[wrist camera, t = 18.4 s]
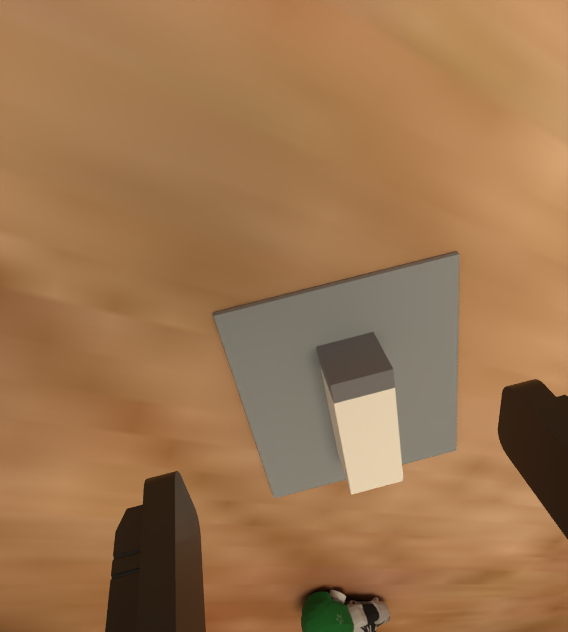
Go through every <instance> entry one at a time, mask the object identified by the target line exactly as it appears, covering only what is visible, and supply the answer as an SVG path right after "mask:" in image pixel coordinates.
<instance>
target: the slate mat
mask: <svg viewBox="0 0 568 632" xmlns="http://www.w3.org/2000/svg"><path fill="white" fill-rule="evenodd" d="M458 306H459V253H458V252H457V251H456V252H452V253H448V254H444V255H440V256H436V257H432V258H428V259H424V260H420V261H416V262H412V263H408V264H404V265H400V266H396V267H392V268H388V269H384V270H380V271H376V272H372V273H368V274H364V275H361V276H357V277H353V278H349V279H345V280H341V281H337V282H333V283H329V284H325V285H321V286H317V287H313V288H309V289H305V290H301V291H297V292H293V293H289V294H285V295H281V296H277V297H273V298H269V299H265V300H261V301H257V302H253V303H249V304H245V305H241V306H237V307H234V308H230V309H226V310H222V311H218V312H214V313H213V316H214V319H215V322H216V325H217V328H218V331H219V334H220V337H221V340H222V343H223V346H224V349H225V352H226V355H227V358H228V361H229V364H230V367H231V370H232V373H233V376H234V379H235V382H236V385H237V388H238V391H239V394H240V397H241V400H242V403H243V406H244V409H245V412H246V415H247V418H248V421H249V424H250V427H251V430H252V433H253V436H254V439H255V442H256V445H257V448H258V451H259V454H260V457H261V460H262V463H263V466H264V469H265V472H266V475H267V478H268V481H269V484H270V487H271V490H272V493H273V496H274V498H277V497H281V496H285V495H289V494H293V493H296V492H300V491H304V490H308V489H312V488H315V487H319V486H323V485H327V484H331V483H334V482H338V481H342V480H346V477H345V473H344V470H343V467H342V464H341V461H340V458H339V455H338V451H337V446H336V441H335V436H334V431H333V426H332V421H331V416H330V411H329V406H328V402H327V397H326V392H325V387H324V382H323V377H322V372H321V367H320V362H319V357H318V352H317V347H316V346H320V345H324V344H328V343H332V342H336V341H339V340H343V339H347V338H351V337H355V336H359V335H363V334H366V333H370V332H374V334H375V336H376V338H377V340H378V341H379V343H380V345H381V347H382V349H383V351H384V353H385V354H386V356H387V358H388V360H389V362H390V364H391V366H392V367H393V370H394V382H395V393H396V404H397V415H398V426H399V437H400V449H401V460H402V465H403V464H407V463H410V462H414V461H418V460H422V459H426V458H429V457H433V456H437V455H441V454H445V453H448V452H452V451H456V438H457V372H458Z"/></svg>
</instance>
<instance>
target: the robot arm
mask: <svg viewBox="0 0 568 632" xmlns="http://www.w3.org/2000/svg"><path fill="white" fill-rule="evenodd" d="M498 435H499V440H500V443H501V445H502V447H503V449H504V451H505V453H506V454H507V456H508V457H509V459H510V460H511V461H512V463H513V464H514V466H515V467H516V468H517V470H518V471H519V473H520V474H521V475H522V477H523V478H524V479H525V481H526V482H527V484H528V485H529V486H530V488H531V489H532V491H533V492H534V493H535V495H536V496H537V497H538V499H539V500H540V502H541V503H542V504H543V506H544V507H545V509H546V510H547V511H548V513H549V514H550V516H551V517H552V518H553V520H554V521H555V522H556V524H557V525H558V527H559V528H560V529H561V531H562V532H563V534H564V535H565V536H566V538H567V539H568V396H566V395H562V396H559V397H556V396H555V395H554V394H553V393H552V392H551V391H550V390H549V389H548V388H547V387H546V386H545V385H544V384H543V383H542V382H541V381H539V380H536V379H534V380H530V381H526V382H522V383H518V384H514V385H511V386H507V387H505V388H504V389H503V392H502V399H501V407H500V415H499V423H498ZM113 556H114V560H113V562H112V571H111V576H112V580H111V581H110V591H109V600H108V610H107V620H106V629H105V632H206V629H205V610H204V591H203V572H202V553H201V535H200V526H199V521H198V516H197V513H196V509H195V507H194V505H193V502H192V500H191V498H190V495H189V493H188V491H187V489H186V486H185V484H184V482H183V479H182V477H181V475H180V473H179V472H178V471H175V472H171V473H167V474H164V475H160V476H156V477H152V478H148V479H146V480H145V483H144V494H143V505H140V506H136V507H132V508H128V509H127V510H126V512H125V514H124V516H123V518H122V520H121V522H120V524H119V526H118V528H117V530H116V533H115V542H114V552H113Z"/></svg>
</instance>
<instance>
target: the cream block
mask: <svg viewBox="0 0 568 632" xmlns="http://www.w3.org/2000/svg"><path fill="white" fill-rule="evenodd" d="M316 347H317V352H318V357H319V362H320V367H321V372H322V377H323V382H324V387H325V392H326V397H327V402H328V406H329V411H330V416H331V421H332V426H333V431H334V436H335V441H336V446H337V451H338V455H339V458H340V461H341V464H342V467H343V470H344V473H345V477H346V480H347V483H348V486H349V489H350V492H351V494H355V493H359V492H363V491H366V490H370V489H374V488H378V487H381V486H385V485H389V484H393V483H396V482H400V481H403V471H402V460H401V449H400V437H399V426H398V415H397V404H396V393H395V382H394V370H393V367H392V366H391V364H390V362H389V360H388V358H387V356H386V354H385V353H384V351H383V349H382V347H381V345H380V343H379V341H378V340H377V338H376V336H375V334H374V332H370V333H366V334H363V335H359V336H355V337H351V338H347V339H343V340H339V341H336V342H332V343H328V344H324V345H320V346H316Z"/></svg>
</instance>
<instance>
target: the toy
mask: <svg viewBox="0 0 568 632" xmlns="http://www.w3.org/2000/svg"><path fill="white" fill-rule="evenodd" d="M345 599H346V596H345V595H344V594H342V593H340V592H338V591H336V590H330V593H328V592H315V593H313V594H311V595H310V596H309V597H308V598H307V599H306V601H305V603H304V605H303V609H302V617H301V626H302V631H303V632H376V627H378V626H379V625H381V624H384V623H386V622H387V621H389V620H390V617H389V615H390V612H389V609H388V607H387V605H386V604H385V603H383V602H381V601H380V602H379V599H378V598H377V597H374V598H373V599H372V600H371V601H368V602H367V601H361V602H357V601H354V600H350V601H345Z"/></svg>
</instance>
